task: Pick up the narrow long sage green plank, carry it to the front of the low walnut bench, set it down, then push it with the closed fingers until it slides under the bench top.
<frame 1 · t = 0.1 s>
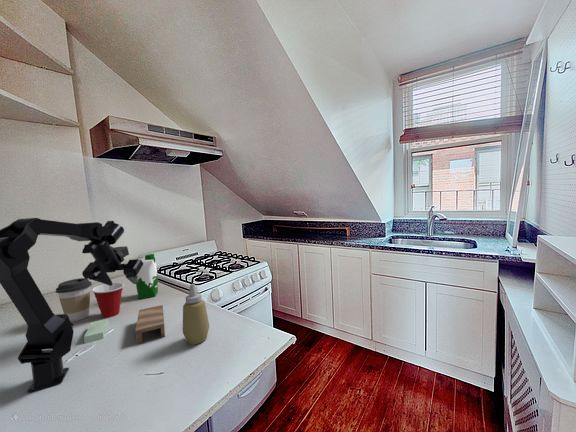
hand: (123, 284, 96), 15 cm above the counter, tool tilted 30°, fingers open, 9 cm apart
squeeze bottle: (197, 340, 81), on the counter
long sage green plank: (97, 334, 89), on the counter
milk carton: (148, 296, 125), on the counter
coffee cup: (77, 318, 103), on the counter
bench: (151, 328, 90), on the counter
plastic cup: (111, 315, 105), on the counter
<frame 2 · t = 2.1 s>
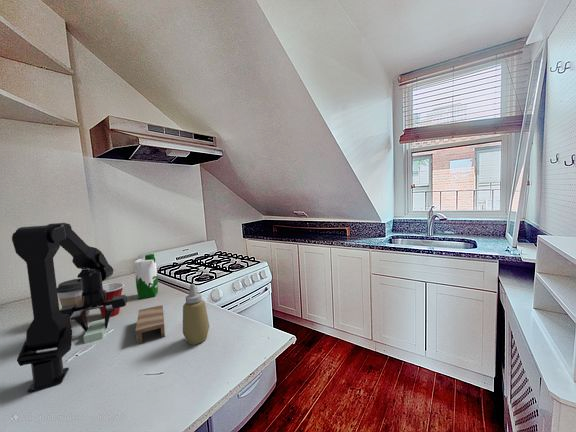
hand: (97, 330, 89), 1 cm above the counter, tool pointing down, fingers closed on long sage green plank, 5 cm apart
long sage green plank: (97, 333, 89), on the counter, touching gripper
everything else where it was.
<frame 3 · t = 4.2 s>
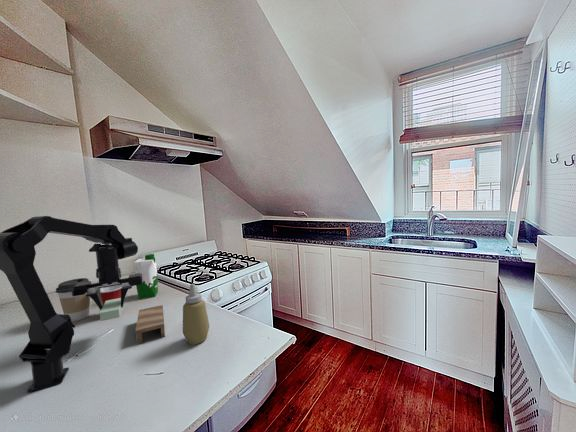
hand: (112, 309, 85), 10 cm above the counter, tool pointing down, fingers closed on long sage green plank, 5 cm apart
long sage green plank: (112, 312, 85), point 9 cm above the counter, touching gripper
everything else where it was.
when the fingers open (2 cm above the counter, at t = 6.0 s): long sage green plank drops 1 cm, on the counter.
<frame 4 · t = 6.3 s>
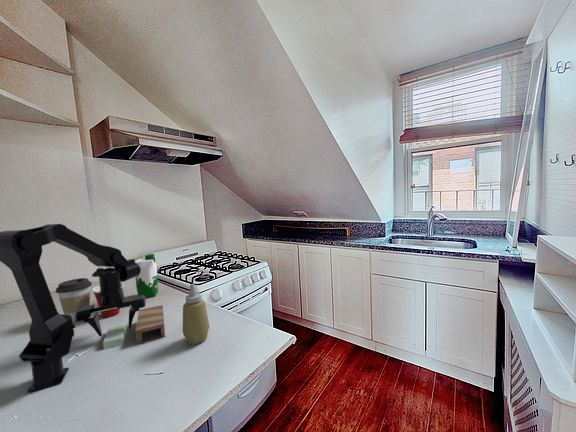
hand: (115, 332, 85), 2 cm above the counter, tool pointing down, fingers open, 8 cm apart
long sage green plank: (116, 339, 85), on the counter
everything else where it was.
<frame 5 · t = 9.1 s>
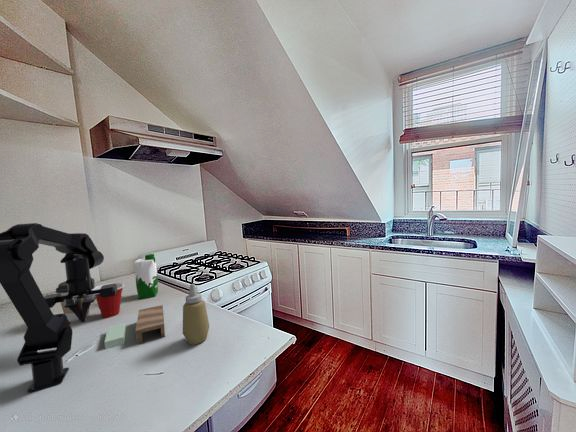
hand: (83, 322, 81), 8 cm above the counter, tool pointing down, fingers closed
nothing on the counter moved.
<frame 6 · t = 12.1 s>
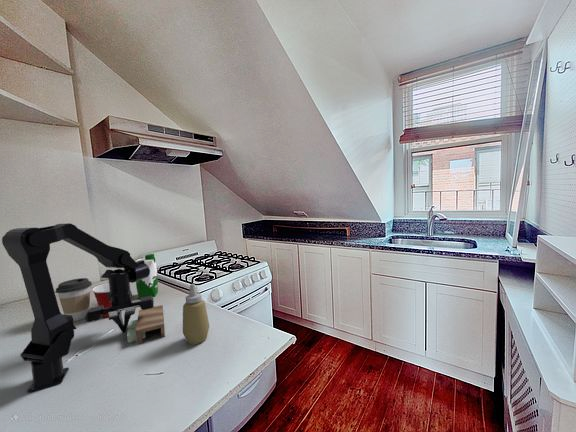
hand: (124, 332, 86), 1 cm above the counter, tool pointing down, fingers closed
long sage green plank: (136, 333, 88), on the counter
everything else where it was.
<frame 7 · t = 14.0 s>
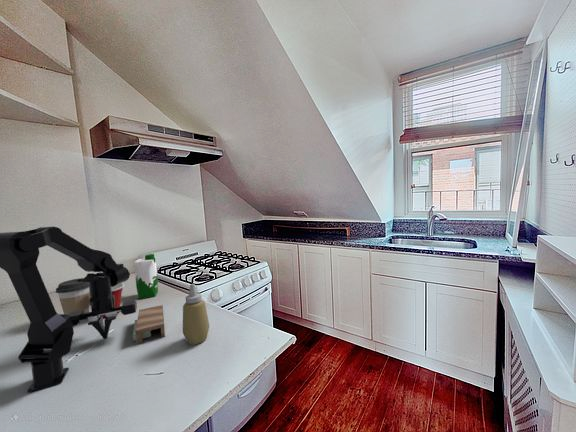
hand: (105, 338, 84), 1 cm above the counter, tool pointing down, fingers closed
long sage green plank: (142, 332, 89), on the counter
everything else where it was.
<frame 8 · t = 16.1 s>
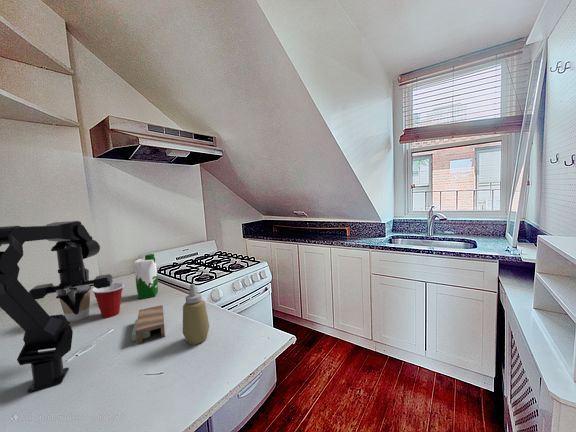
hand: (77, 313, 77), 12 cm above the counter, tool pointing down, fingers closed
nothing on the counter moved.
at the end: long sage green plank inside the target area (2.1 cm from its centre), on the counter; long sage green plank tilted 0°; the gripper is holding nothing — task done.
